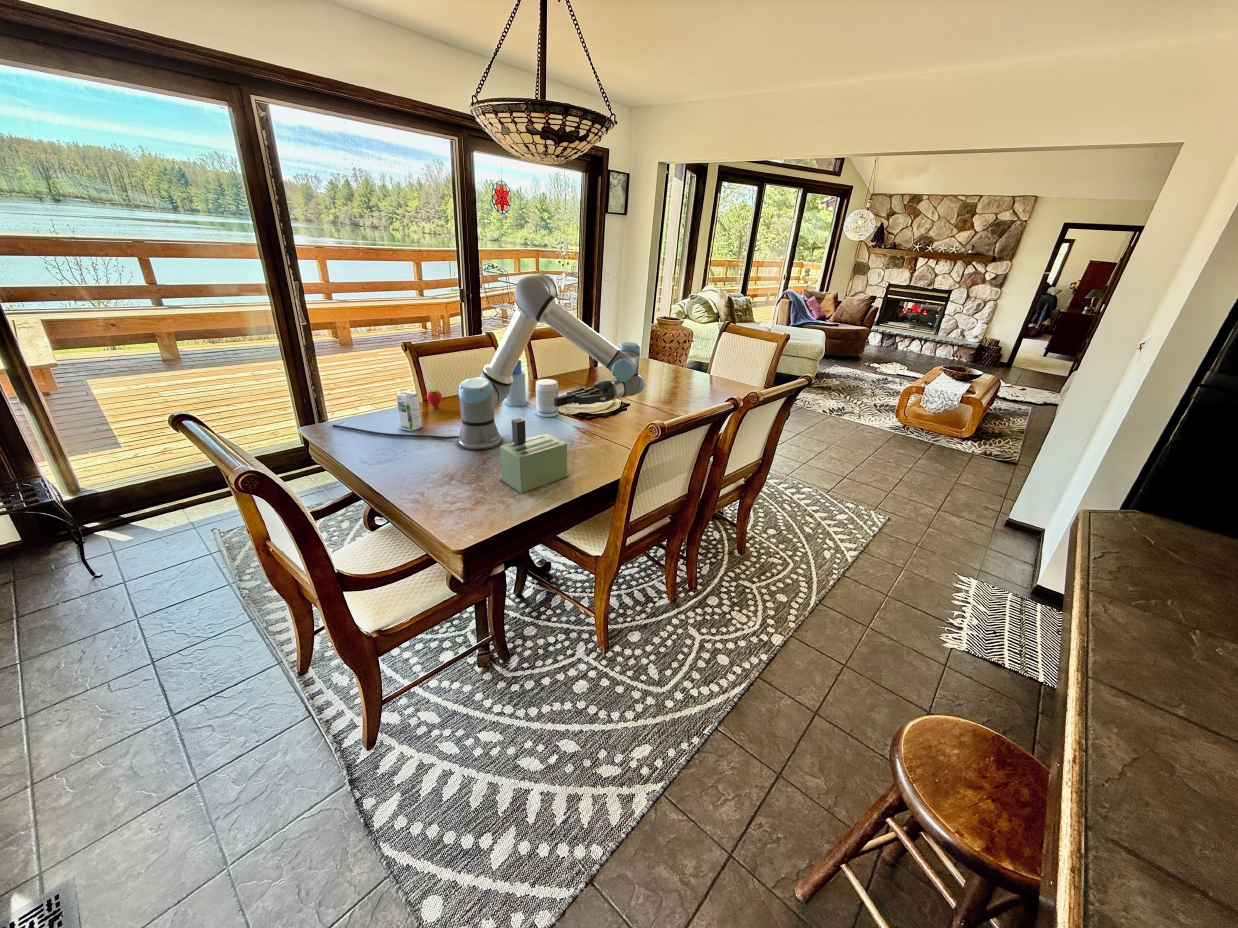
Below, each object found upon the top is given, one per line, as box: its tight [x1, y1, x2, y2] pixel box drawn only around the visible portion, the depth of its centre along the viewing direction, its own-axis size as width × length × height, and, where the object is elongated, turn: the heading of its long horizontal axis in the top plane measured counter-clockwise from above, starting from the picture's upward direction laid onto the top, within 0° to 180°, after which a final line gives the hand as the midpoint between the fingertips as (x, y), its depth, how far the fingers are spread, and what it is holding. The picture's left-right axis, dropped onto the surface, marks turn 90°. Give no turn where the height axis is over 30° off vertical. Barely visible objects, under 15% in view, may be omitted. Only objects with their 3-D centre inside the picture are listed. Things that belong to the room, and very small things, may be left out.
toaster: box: [499, 432, 568, 494], centre depth 154 cm, size 18×11×12 cm, turn 134°
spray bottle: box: [505, 358, 527, 407], centre depth 218 cm, size 9×9×25 cm
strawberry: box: [426, 387, 443, 409], centre depth 211 cm, size 6×8×10 cm
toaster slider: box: [511, 417, 527, 445], centre depth 150 cm, size 3×3×8 cm
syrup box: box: [395, 390, 422, 432], centre depth 187 cm, size 6×6×14 cm
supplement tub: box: [535, 378, 559, 418], centre depth 209 cm, size 10×10×15 cm
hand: (555, 402), depth 156 cm, fingers closed
